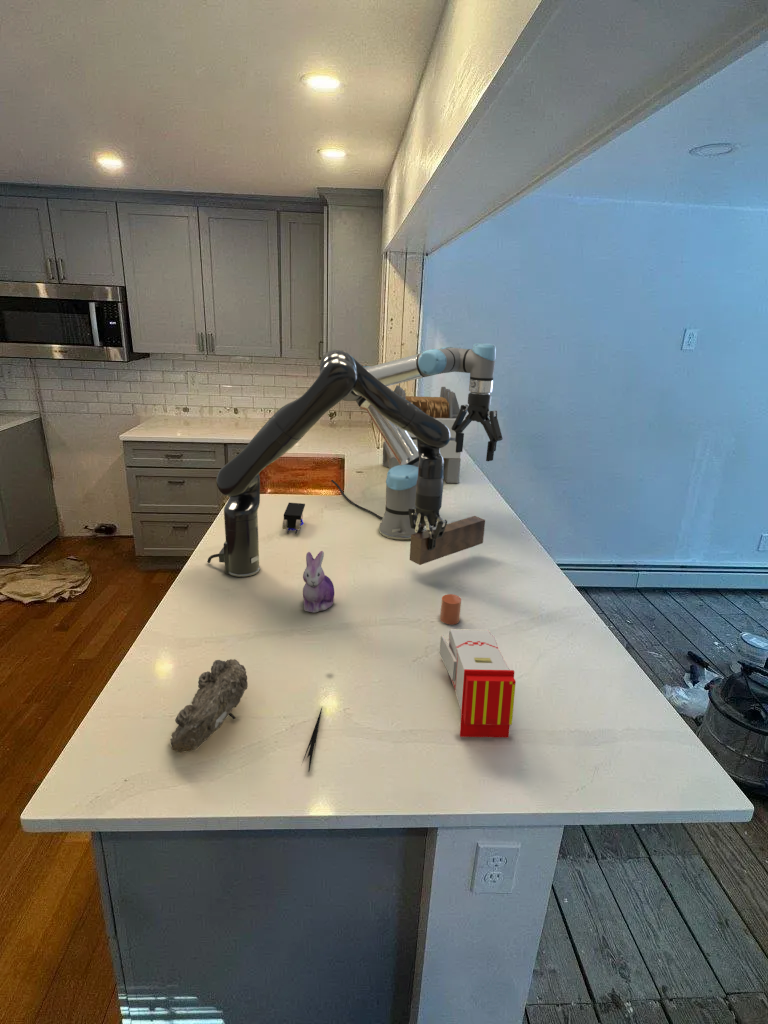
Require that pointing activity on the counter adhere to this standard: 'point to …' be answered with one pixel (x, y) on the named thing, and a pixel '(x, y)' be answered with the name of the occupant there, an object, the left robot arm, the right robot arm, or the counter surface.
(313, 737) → the feather
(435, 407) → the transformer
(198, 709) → the fossil
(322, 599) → the figurine
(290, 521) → the figurine character
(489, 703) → the toy
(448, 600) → the cylinder block
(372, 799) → the counter surface
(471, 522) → the bar
